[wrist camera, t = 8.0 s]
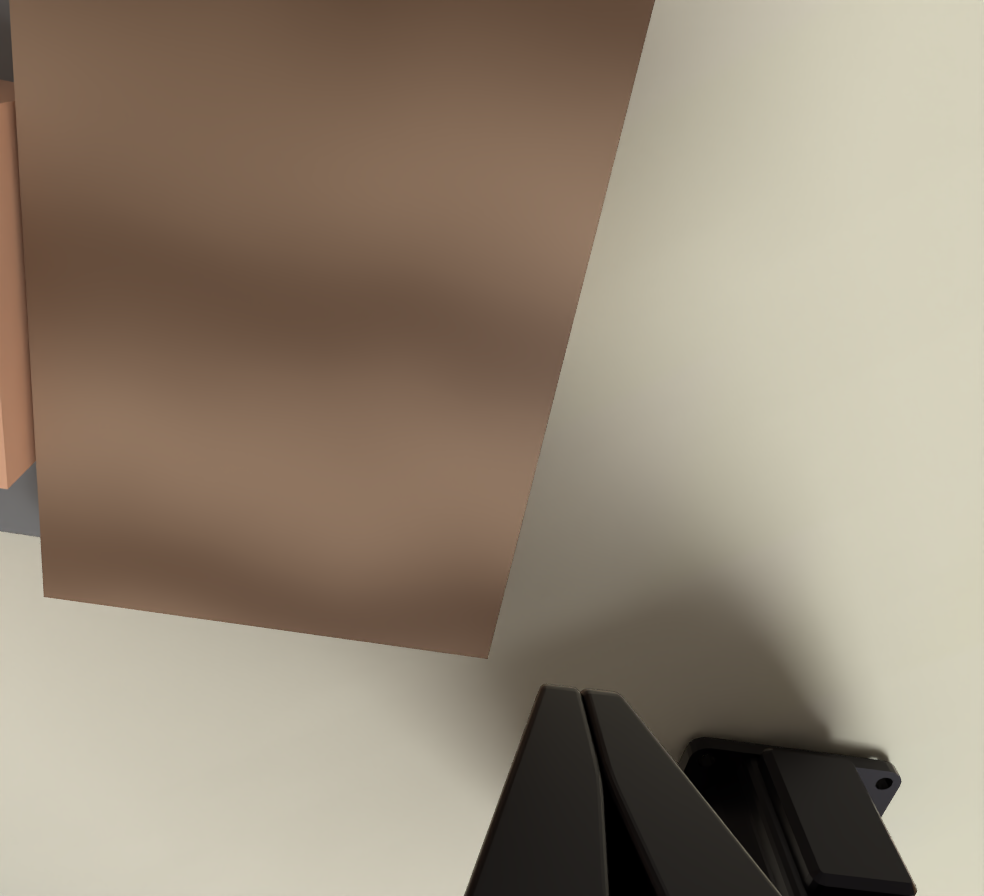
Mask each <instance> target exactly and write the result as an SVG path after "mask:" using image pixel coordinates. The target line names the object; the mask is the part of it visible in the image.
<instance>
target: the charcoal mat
mask: <svg viewBox="0 0 984 896" xmlns="http://www.w3.org/2000/svg"><path fill="white" fill-rule="evenodd" d="M0 80H5V81H10V82H14V74H13V57H12V40H11V23H10V5H9V0H0ZM0 531H2V532H9V533H16V534H23V535H29V536H36V537H40V521H39V503H38V486H37V469H36V461H35V462H34V463H33V464H32V465H31V466H30V467H29V468H28V469H27V470H26V471H25V472H24V473H23V474H22V475H21V476H20V477H19V478H18V479H17V480H16V481H15V482H14V483H13V484H12V485H11V486H10V487H9V488H8V489H2V488H0Z"/></svg>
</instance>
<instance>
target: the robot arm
mask: <svg viewBox="0 0 984 896" xmlns="http://www.w3.org/2000/svg"><path fill="white" fill-rule="evenodd" d="M704 754H707V755H705V756H702V755H704ZM900 784H901V778H900V776H899V774H898V772H897V770H896V769H895V767H894V765H892V764H891V763H890V762H887V761H881V760H874V759H866V758H859V757H851V756H844V755H836V754H829V753H821V752H814V751H806V750H799V749H791V748H784V747H776V746H769V745H761V744H754V743H746V742H739V741H731V740H724V739H716V738H709V737H701V738H698V739H694V740H693V741H691V742H690V743H689V744H688V745H687V747H686V749H685V751H684V753H683V756H682V758H681V761H680V763H679V765H677V764H676V762H675V761H674V760H673V759H672V757H671V756H670V755H669V754H668V752H667V751H666V750H665V749H664V747H663V746H662V745H661V744H660V742H659V741H658V740H657V739H656V737H655V736H654V735H653V734H652V732H651V731H650V730H649V729H648V727H647V726H646V725H645V724H644V722H643V721H642V720H641V719H640V717H639V716H638V715H637V714H636V712H635V711H634V710H633V709H632V707H631V706H630V705H629V704H628V702H627V701H626V700H625V699H624V697H623V696H621V695H620V694H619V693H616V692H612V691H603V690H595V689H584V690H582V691H581V692H580V691H579V690H578V689H576V688H575V687H570V686H561V685H553V684H544V685H542V686H541V687H540V689H539V691H538V694H537V696H536V699H535V702H534V705H533V707H532V710H531V713H530V716H529V718H528V721H527V724H526V727H525V729H524V732H523V735H522V738H521V740H520V743H519V746H518V749H517V751H516V754H515V757H514V760H513V762H512V765H511V768H510V771H509V773H508V776H507V779H506V782H505V784H504V787H503V790H502V793H501V795H500V798H499V801H498V803H497V806H496V809H495V812H494V814H493V817H492V820H491V823H490V825H489V828H488V831H487V834H486V836H485V839H484V842H483V845H482V847H481V850H480V853H479V856H478V858H477V861H476V864H475V867H474V869H473V872H472V875H471V878H470V880H469V883H468V886H467V889H466V891H465V894H464V896H915V894H916V893H917V888H916V885H915V883H914V881H913V879H912V877H911V875H910V873H909V871H908V869H907V867H906V865H905V864H904V862H903V860H902V858H901V856H900V854H899V852H898V850H897V848H896V846H895V844H894V842H893V840H892V838H891V836H890V834H889V832H888V830H887V828H886V826H885V824H884V822H883V820H882V819H881V816H882V815H883V813H884V811H885V810H886V808H887V806H888V805H889V803H890V801H891V800H892V798H893V796H894V795H895V793H896V791H897V790H898V788H899V786H900Z"/></svg>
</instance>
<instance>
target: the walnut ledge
mask: <svg viewBox="0 0 984 896" xmlns="http://www.w3.org/2000/svg"><path fill="white" fill-rule="evenodd" d="M654 2H655V0H9V5H10V23H11V40H12V57H13V74H14V91H15V108H16V126H17V143H18V160H19V177H20V194H21V212H22V229H23V246H24V263H25V280H26V297H27V315H28V332H29V349H30V366H31V383H32V400H33V418H34V435H35V452H36V469H37V486H38V503H39V521H40V538H41V555H42V572H43V589H44V597H49V598H56V599H63V600H70V601H78V602H85V603H92V604H99V605H106V606H113V607H121V608H128V609H135V610H142V611H149V612H156V613H163V614H171V615H178V616H185V617H192V618H199V619H206V620H213V621H221V622H228V623H235V624H242V625H249V626H256V627H264V628H271V629H278V630H285V631H292V632H299V633H306V634H314V635H321V636H328V637H335V638H342V639H349V640H356V641H364V642H371V643H378V644H385V645H392V646H399V647H406V648H414V649H421V650H428V651H435V652H442V653H449V654H457V655H464V656H471V657H478V658H485V659H488V655H489V651H490V647H491V643H492V639H493V635H494V631H495V627H496V623H497V619H498V615H499V611H500V608H501V604H502V600H503V596H504V592H505V588H506V584H507V580H508V576H509V572H510V568H511V564H512V560H513V556H514V552H515V549H516V545H517V541H518V537H519V533H520V529H521V525H522V521H523V517H524V513H525V509H526V505H527V501H528V497H529V493H530V490H531V486H532V482H533V478H534V474H535V470H536V466H537V462H538V458H539V454H540V450H541V446H542V442H543V438H544V434H545V431H546V427H547V423H548V419H549V415H550V411H551V407H552V403H553V399H554V395H555V391H556V387H557V383H558V379H559V375H560V372H561V368H562V364H563V360H564V356H565V352H566V348H567V344H568V340H569V336H570V332H571V328H572V324H573V320H574V316H575V313H576V309H577V305H578V301H579V297H580V293H581V289H582V285H583V281H584V277H585V273H586V269H587V265H588V261H589V257H590V254H591V250H592V246H593V242H594V238H595V234H596V230H597V226H598V222H599V218H600V214H601V210H602V206H603V202H604V199H605V195H606V191H607V187H608V183H609V179H610V175H611V171H612V167H613V163H614V159H615V155H616V151H617V147H618V143H619V140H620V136H621V132H622V128H623V124H624V120H625V116H626V112H627V108H628V104H629V100H630V96H631V92H632V88H633V84H634V81H635V77H636V73H637V69H638V65H639V61H640V57H641V53H642V49H643V45H644V41H645V37H646V33H647V29H648V25H649V22H650V18H651V14H652V10H653V6H654Z"/></svg>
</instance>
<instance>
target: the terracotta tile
mask: <svg viewBox="0 0 984 896" xmlns="http://www.w3.org/2000/svg"><path fill="white" fill-rule="evenodd" d="M35 461H36V452H35V435H34V418H33V400H32V383H31V366H30V349H29V332H28V315H27V297H26V280H25V263H24V246H23V229H22V212H21V194H20V177H19V160H18V143H17V126H16V108H15V91H14V82H10V81H5V80H0V488H2V489H8V488H9V487H10V486H11V485H12V484H13V483H14V482H15V481H16V480H17V479H18V478H19V477H20V476H21V475H22V474H23V473H24V472H25V471H26V470H27V469H28V468H29V467H30V466H31V465H32V464H33V463H34V462H35Z"/></svg>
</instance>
